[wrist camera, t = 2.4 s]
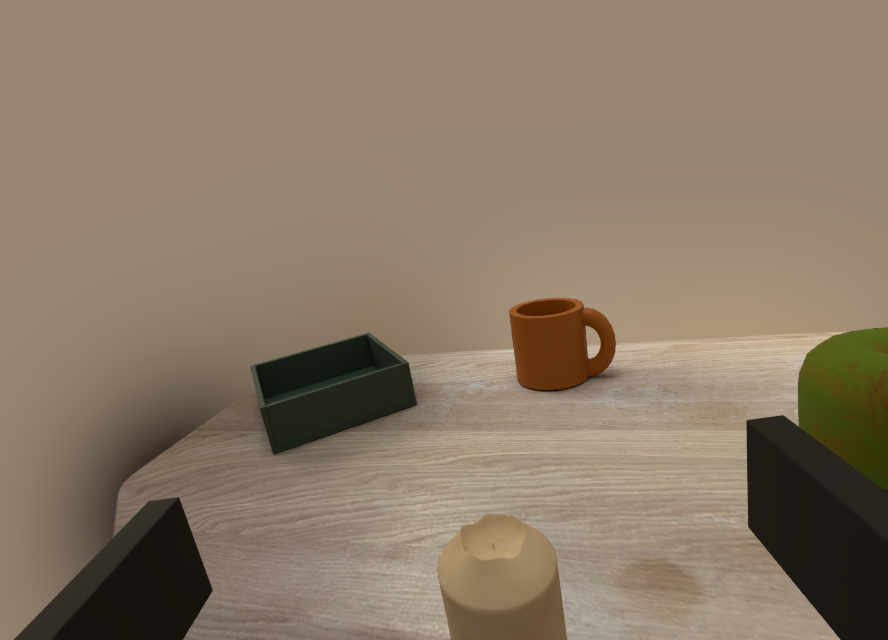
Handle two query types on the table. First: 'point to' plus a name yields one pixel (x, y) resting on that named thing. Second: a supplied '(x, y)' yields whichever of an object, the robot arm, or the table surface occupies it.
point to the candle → (501, 583)
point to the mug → (558, 343)
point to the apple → (849, 399)
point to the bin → (330, 389)
